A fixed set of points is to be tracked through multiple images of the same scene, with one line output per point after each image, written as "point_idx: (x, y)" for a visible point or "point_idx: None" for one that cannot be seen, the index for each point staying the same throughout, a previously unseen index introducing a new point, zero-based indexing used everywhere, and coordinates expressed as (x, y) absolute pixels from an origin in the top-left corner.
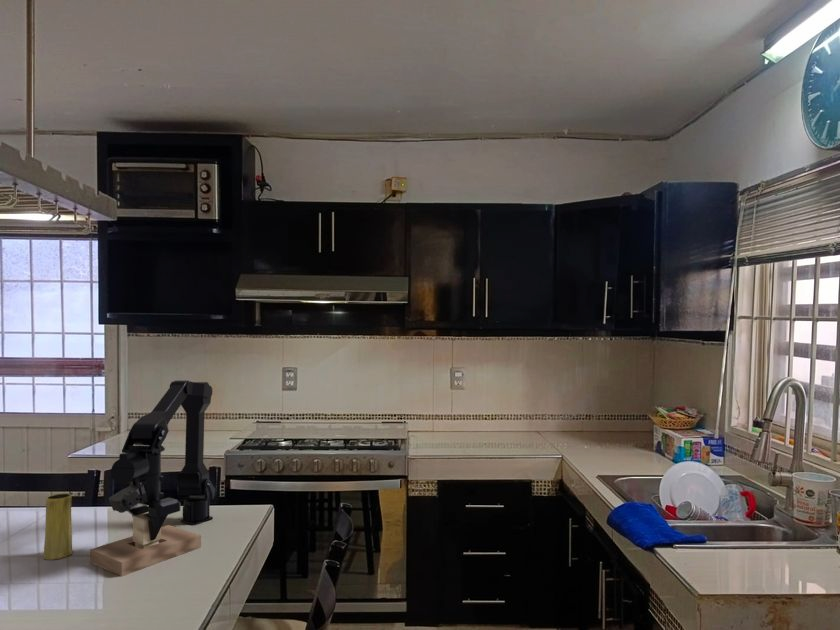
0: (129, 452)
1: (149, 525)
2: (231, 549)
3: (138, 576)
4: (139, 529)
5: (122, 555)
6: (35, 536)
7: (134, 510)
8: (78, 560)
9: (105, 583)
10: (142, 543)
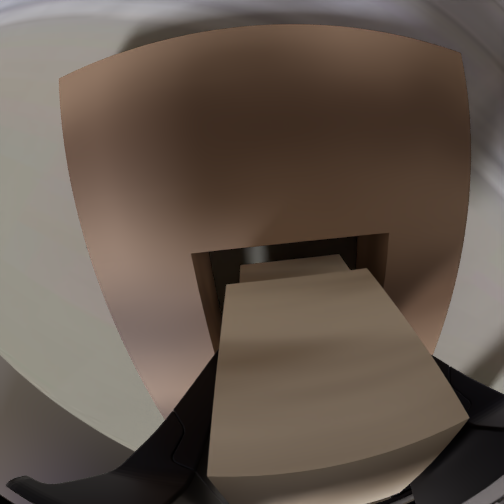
0: None
1: (187, 429)
2: (117, 428)
3: (49, 149)
4: (299, 355)
5: (168, 106)
6: None
7: (496, 460)
8: (467, 63)
9: (87, 22)
10: (236, 287)
